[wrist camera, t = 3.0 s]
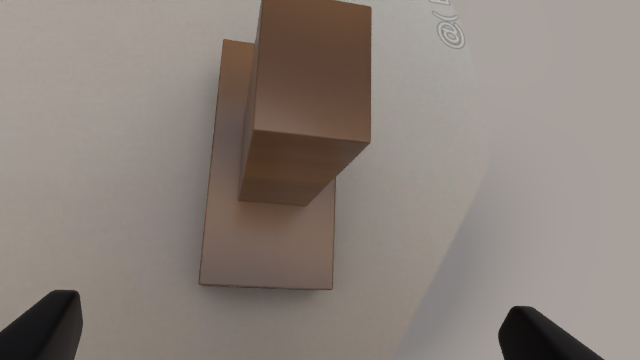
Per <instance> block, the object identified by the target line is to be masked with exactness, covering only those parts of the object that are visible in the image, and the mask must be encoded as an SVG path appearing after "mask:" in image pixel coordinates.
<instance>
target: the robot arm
mask: <svg viewBox="0 0 640 360" xmlns="http://www.w3.org/2000/svg"><path fill="white" fill-rule="evenodd" d="M82 327H83V318H82V310H81V302H80V295H79V293H78V292H77V291H75V290H54V291H52V292H50V293H49V294H47V295H46V296H45V297H44V298H42V299H41V300H40V301H39V302H37V303H36V304H35V305H34V306H32V307H31V308H30V309H29V310H27V311H26V312H25V313H24V314H22V315H21V316H20V317H19V318H17V319H16V320H15V321H13V322H12V323H11V324H10V325H8V326H7V327H6V328H5V329H3V330H2V331H1V332H0V360H74V358H75V355H76V351H77V348H78V344H79V341H80V337H81V333H82ZM498 338H499V343H500V347H501V350H502V353H503V356H504V360H604V359H603V358H601V357H600V356H598V355H597V354H596V353H594V352H593V351H592V350H590V349H589V348H588V347H586V346H585V345H583V344H582V343H581V342H579V341H578V340H577V339H575V338H574V337H573V336H571V335H570V334H569V333H567V332H566V331H564V330H563V329H562V328H560V327H559V326H558V325H556V324H555V323H553V322H552V321H551V320H549V319H548V318H547V317H545V316H544V315H543V314H541V313H540V312H538V311H537V310H536V309H534V308H532V307H529V306H514V307H513V308H511V309H510V311H509V313H508V315H507V317H506V318H505V320H504V322H503V324H502V326H501V328H500V330H499V333H498Z"/></svg>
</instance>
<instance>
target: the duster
mask: <svg viewBox="0 0 640 360" xmlns="http://www.w3.org/2000/svg"><path fill="white" fill-rule="evenodd" d="M370 142H371V7H370V6H365V5H359V4H353V3H347V2H341V1H336V0H261V5H260V12H259V19H258V26H257V33H256V40H255V44H253V43H246V42H239V41H232V40H226V39H224V40H223V47H222V57H221V67H220V77H219V87H218V97H217V106H216V116H215V126H214V136H213V146H212V156H211V166H210V175H209V185H208V195H207V205H206V215H205V225H204V234H203V244H202V254H201V264H200V274H199V285H202V286H217V287H243V288H269V289H294V290H332V289H333V260H334V223H335V186H336V176H337V175H338V174H339V173H340V172H341V171H342V170H343V169H344V168H345V167H346V166H348V165H349V164H350V163H351V162H352V161H353V160H354V159H355V158H356V157H357V156H358V155H359V154H360V153H361V152H362V151H363V150H364V149H365V148H366V147H367V146H368V145H369V144H370Z"/></svg>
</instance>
